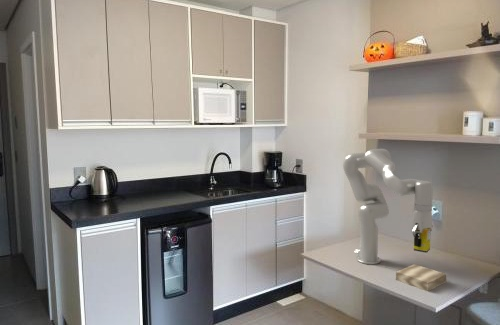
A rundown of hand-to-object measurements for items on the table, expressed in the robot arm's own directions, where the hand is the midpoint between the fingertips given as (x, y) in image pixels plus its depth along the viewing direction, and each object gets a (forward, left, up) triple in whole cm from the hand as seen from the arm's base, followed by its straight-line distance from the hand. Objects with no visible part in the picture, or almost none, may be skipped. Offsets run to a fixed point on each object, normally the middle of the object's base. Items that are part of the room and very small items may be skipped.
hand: (422, 244), depth 179 cm
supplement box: (0, 0, -3) cm, 3 cm away
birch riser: (0, 0, -18) cm, 18 cm away
